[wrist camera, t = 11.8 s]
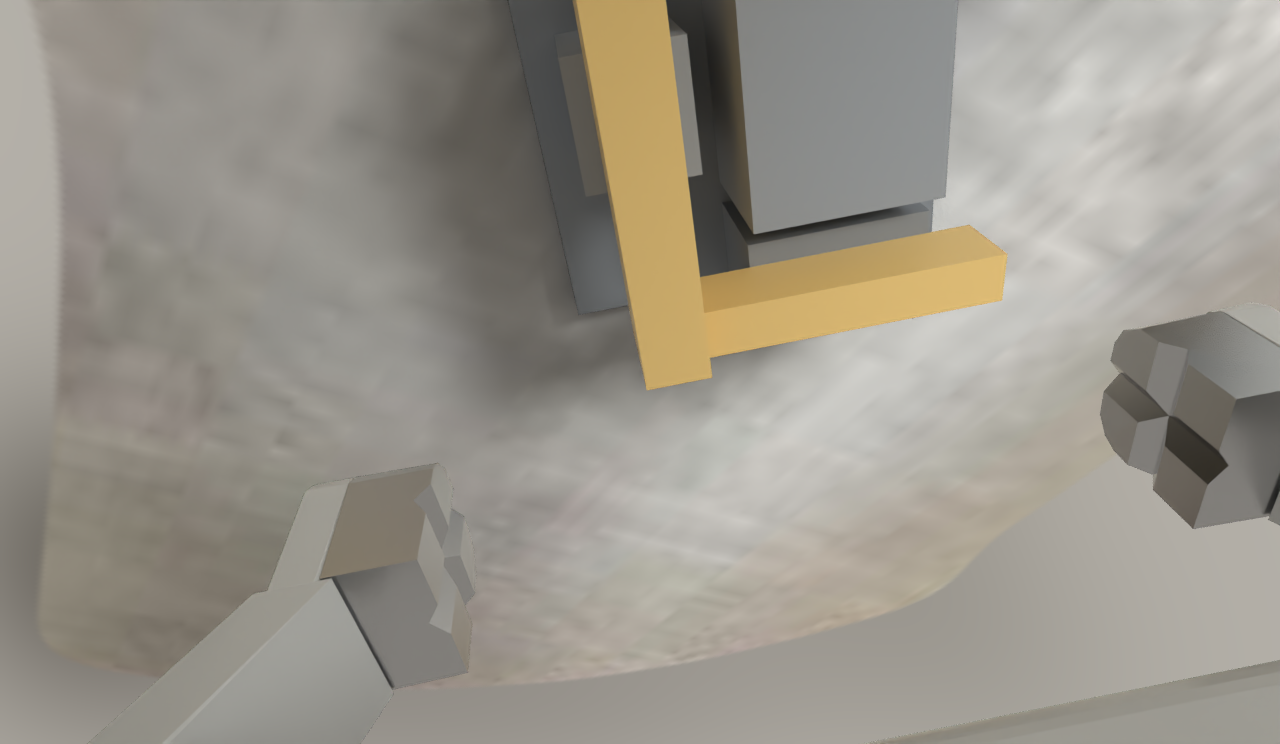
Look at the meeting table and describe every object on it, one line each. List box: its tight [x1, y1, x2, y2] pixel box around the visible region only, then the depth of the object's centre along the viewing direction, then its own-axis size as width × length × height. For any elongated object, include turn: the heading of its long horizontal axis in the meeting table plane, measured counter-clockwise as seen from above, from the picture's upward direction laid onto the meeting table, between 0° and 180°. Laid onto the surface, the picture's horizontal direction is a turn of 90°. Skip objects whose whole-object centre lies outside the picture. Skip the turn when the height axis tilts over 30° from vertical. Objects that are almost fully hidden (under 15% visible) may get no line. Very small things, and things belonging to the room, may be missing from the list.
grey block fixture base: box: [508, 0, 958, 315], centre depth 24 cm, size 14×16×6 cm
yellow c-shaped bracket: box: [573, 0, 1007, 390], centre depth 21 cm, size 12×14×4 cm
